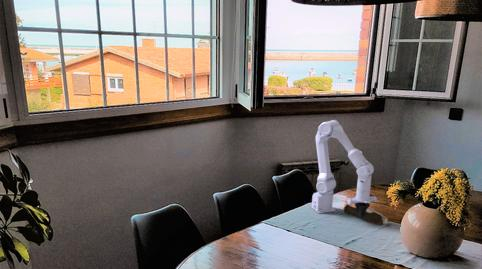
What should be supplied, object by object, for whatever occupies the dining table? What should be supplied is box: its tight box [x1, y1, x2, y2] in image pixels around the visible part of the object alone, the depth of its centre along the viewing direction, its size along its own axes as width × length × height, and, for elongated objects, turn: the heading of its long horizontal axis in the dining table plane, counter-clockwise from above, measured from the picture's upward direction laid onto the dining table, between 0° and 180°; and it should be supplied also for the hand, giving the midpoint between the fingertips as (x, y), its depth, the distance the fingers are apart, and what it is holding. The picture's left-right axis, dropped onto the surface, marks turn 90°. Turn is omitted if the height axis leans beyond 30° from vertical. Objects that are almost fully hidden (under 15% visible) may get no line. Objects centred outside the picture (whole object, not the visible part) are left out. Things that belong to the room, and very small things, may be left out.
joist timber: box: [366, 207, 388, 225], centre depth 167 cm, size 3×12×3 cm, turn 17°
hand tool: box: [343, 204, 384, 226], centre depth 167 cm, size 19×4×5 cm, turn 39°
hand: (360, 217), depth 165 cm, fingers closed
